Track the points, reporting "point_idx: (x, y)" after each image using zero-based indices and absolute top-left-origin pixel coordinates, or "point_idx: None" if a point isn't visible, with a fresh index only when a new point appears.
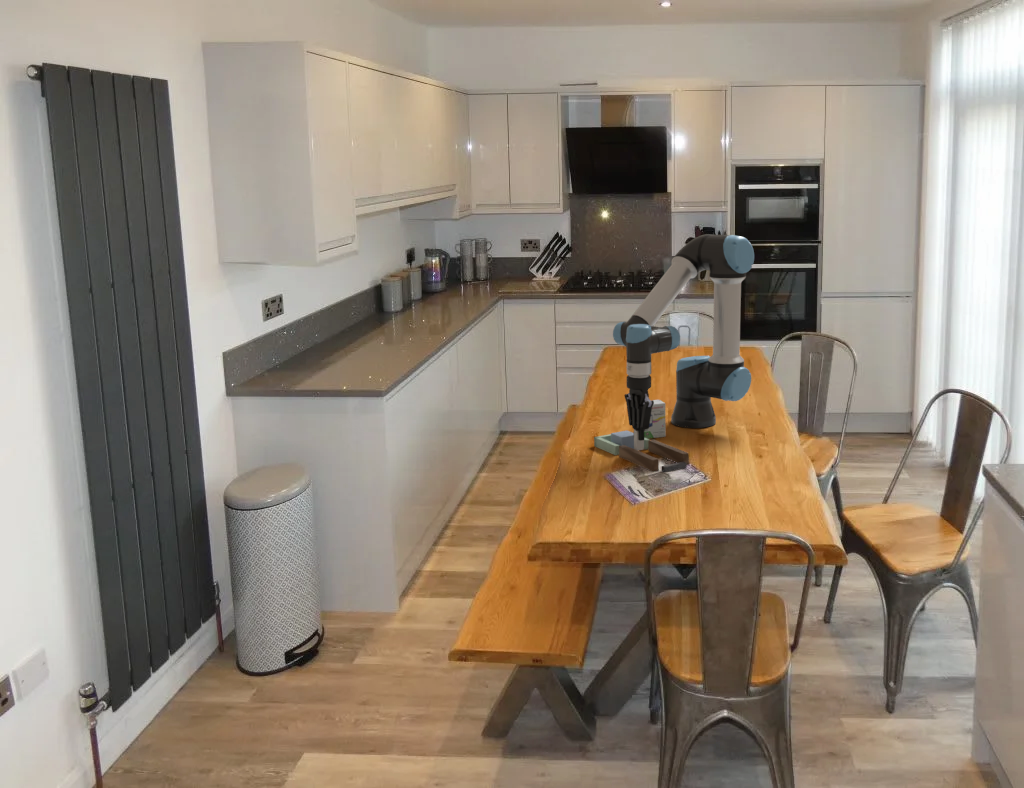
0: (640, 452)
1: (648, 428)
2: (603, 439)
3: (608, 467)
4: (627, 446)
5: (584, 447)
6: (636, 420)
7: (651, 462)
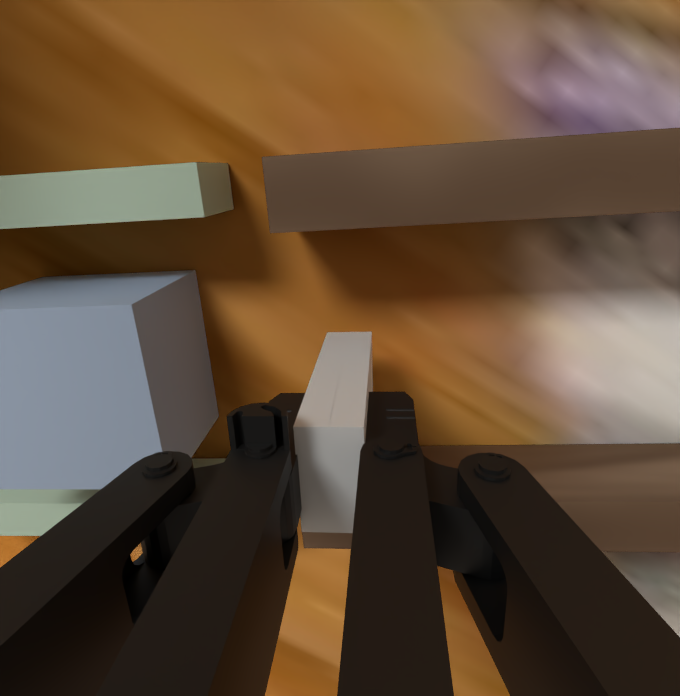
0: (582, 513)
1: (507, 457)
2: (30, 513)
3: (482, 641)
4: None
5: (8, 547)
6: (276, 598)
7: None
